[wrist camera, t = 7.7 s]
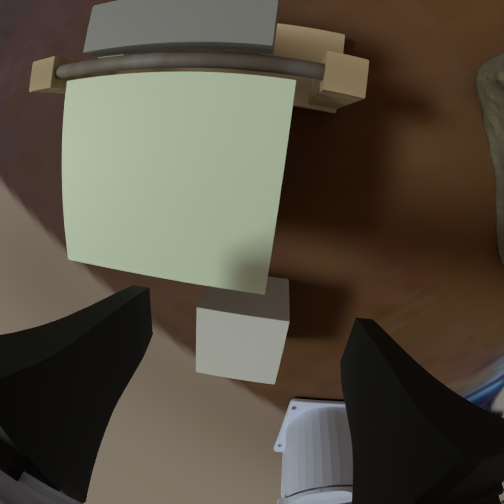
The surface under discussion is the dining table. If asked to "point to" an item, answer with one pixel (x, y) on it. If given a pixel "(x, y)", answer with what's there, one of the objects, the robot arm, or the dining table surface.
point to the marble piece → (494, 130)
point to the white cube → (242, 332)
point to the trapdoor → (177, 147)
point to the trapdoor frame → (237, 67)
